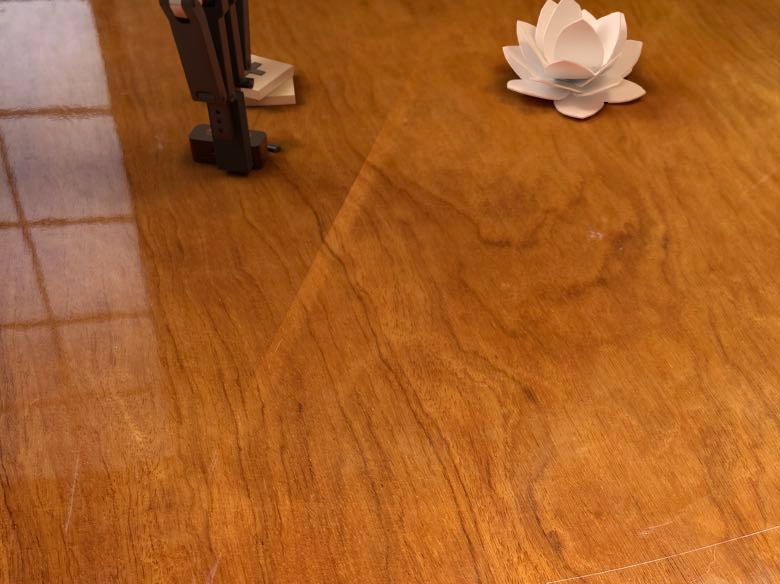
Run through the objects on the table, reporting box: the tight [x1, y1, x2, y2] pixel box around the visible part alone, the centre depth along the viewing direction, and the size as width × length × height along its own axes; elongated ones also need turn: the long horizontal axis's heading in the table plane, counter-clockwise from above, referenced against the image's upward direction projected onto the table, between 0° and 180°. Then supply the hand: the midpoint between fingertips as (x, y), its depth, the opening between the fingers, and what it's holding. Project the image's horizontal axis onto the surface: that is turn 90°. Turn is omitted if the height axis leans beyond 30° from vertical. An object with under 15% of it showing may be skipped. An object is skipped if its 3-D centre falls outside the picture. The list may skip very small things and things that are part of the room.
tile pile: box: [241, 53, 297, 107], centre depth 110 cm, size 8×8×3 cm
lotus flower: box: [502, 0, 647, 119], centre depth 113 cm, size 14×15×9 cm
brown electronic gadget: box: [187, 123, 282, 171], centre depth 102 cm, size 5×7×3 cm, turn 81°
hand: (235, 166), depth 100 cm, fingers closed
